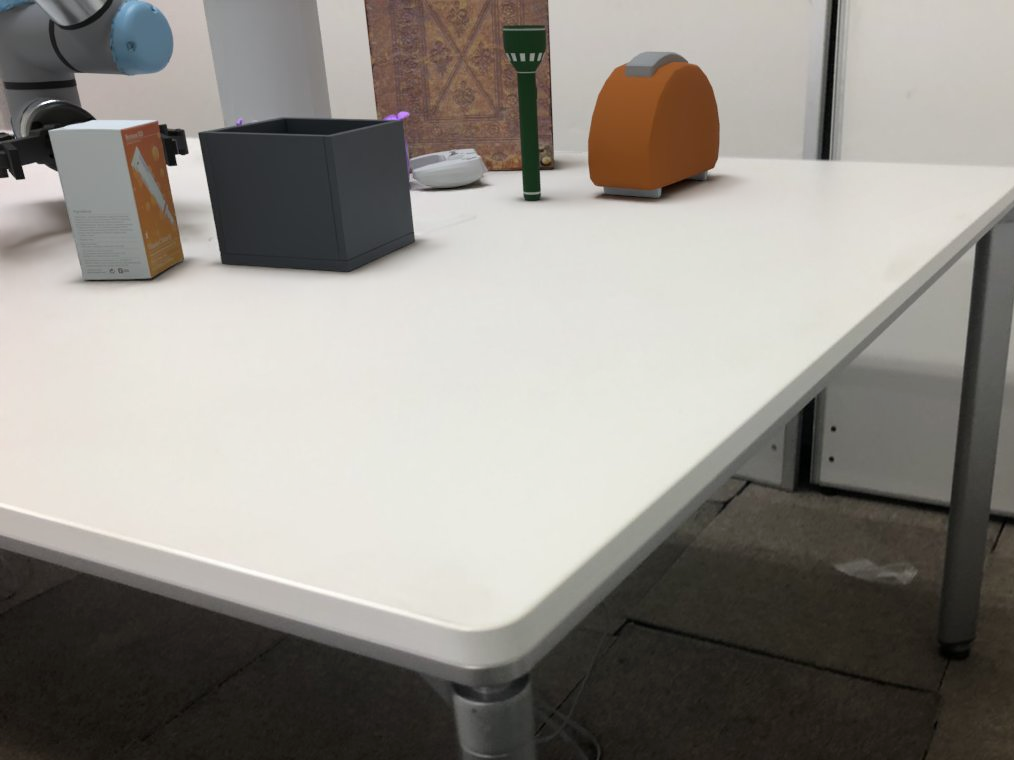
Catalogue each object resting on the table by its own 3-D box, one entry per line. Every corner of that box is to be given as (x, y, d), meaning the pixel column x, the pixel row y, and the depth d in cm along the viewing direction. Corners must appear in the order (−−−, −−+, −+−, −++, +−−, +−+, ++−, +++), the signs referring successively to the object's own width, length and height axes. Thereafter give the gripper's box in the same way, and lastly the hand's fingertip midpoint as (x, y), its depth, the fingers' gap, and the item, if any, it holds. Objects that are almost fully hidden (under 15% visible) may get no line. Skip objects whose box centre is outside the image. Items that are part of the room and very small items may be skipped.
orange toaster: (663, 172, 147) (664, 47, 140) (720, 176, 144) (724, 48, 137) (586, 198, 128) (582, 55, 121) (650, 203, 125) (650, 56, 118)
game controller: (405, 152, 144) (472, 134, 145) (414, 183, 146) (481, 165, 147) (410, 167, 131) (484, 147, 133) (420, 200, 133) (493, 180, 135)
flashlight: (560, 198, 128) (554, 25, 119) (532, 204, 125) (523, 26, 116) (532, 194, 131) (524, 25, 122) (503, 199, 127) (493, 25, 119)
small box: (153, 280, 91) (120, 128, 86) (81, 281, 91) (44, 129, 86) (187, 259, 99) (159, 118, 93) (121, 260, 98) (89, 119, 93)
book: (381, 173, 148) (355, -60, 135) (388, 164, 156) (364, -56, 143) (555, 169, 150) (546, -60, 137) (553, 160, 159) (544, -56, 146)
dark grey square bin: (221, 263, 97) (197, 132, 92) (300, 234, 109) (282, 117, 104) (348, 271, 94) (331, 136, 89) (415, 241, 106) (403, 120, 101)
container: (213, 165, 155) (180, -16, 145) (243, 150, 171) (215, -14, 160) (328, 163, 157) (304, -17, 146) (347, 148, 172) (326, -15, 162)
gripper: (186, 160, 122) (235, 184, 106) (-57, 181, 109) (-42, 212, 93) (173, 94, 119) (221, 108, 103) (-79, 108, 106) (-67, 127, 90)
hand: (96, 158), depth 98 cm, fingers open, 13 cm apart
